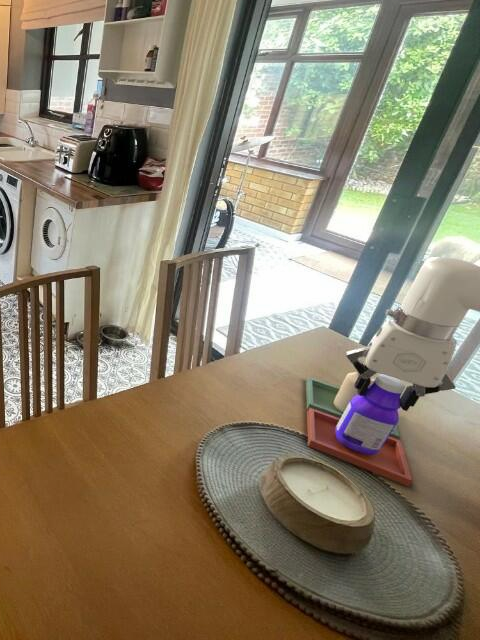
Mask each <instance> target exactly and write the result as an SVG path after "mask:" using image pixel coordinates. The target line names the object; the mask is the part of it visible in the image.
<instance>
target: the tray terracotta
mask: <svg viewBox="0 0 480 640" xmlns="http://www.w3.org/2000/svg"><path fill="white" fill-rule="evenodd" d="M339 420H340V418H337V417H334V416H331V415H329V414H326V413H323V412H320V411H318V410H315V409H312V408H309V410H308V409H307V412H306V421H307V424H306V425H307V446H308V447H310V448H312V449H315V450H317V451H320V452H322V453H324V454H326V455H327V454H328V455H330V456H332V457H335V458H337V459H339V460H342V461H345V462H347V463H349V464H352V465H354V466H357V467H358V468H361V469H364V470H367V471H369V472H371V473H374V474H377V475H378V476H381V477H384V478H387V479H389V480H391V481H394V482H396V483H398V484H402V485H403V486H406V487H409V486H410V485H411V483H412V482H413V478H412V474H411V471H410V467H409V464H408V461H407V457H406V453H405V449H404V448H403V443H402V440H400V439H398V440H397V439H394V438H392V437H388V438H387V440H386V441H385V443H384V444H383V446H382V448H381V449H380V450H379V452H377V453H376V454H373V455H369V454H364V453H361V452H358V451H355V450H352V449H350V448H348V447H346V446H344V445H342V444H341V443H340V442H339V441H338V439H337V437H336V433H335V429H336V426H337V424H338V422H339Z"/></svg>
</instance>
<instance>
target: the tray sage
mask: <svg viewBox="0 0 480 640" xmlns="http://www.w3.org/2000/svg"><path fill="white" fill-rule="evenodd" d="M340 388H341V386H340V387H339V386H336V385H334V384H330V383H328V382H325V381H321V380H319V379H316V378H312V377H310V376H309V377H307V380H305V393H306V410H307V411H308V410H309V408H312V409H315V410H318V411H320V412H323V413H326V414H329V415H331V416H334V417H337V418H340V419H341V417H342V415H343V413H342V412H340V411H339V410H338V409H337V408H336V407H335V406H334V404H333V402H334V400H335V398H336V396H337V394H338V392H339V390H340ZM389 437H392V438H394V439H397V440H399V439H400V432H399V428H398V425H397V424H396V426H395V427H394V429H393V430H392V432H391V434H390V435H389Z"/></svg>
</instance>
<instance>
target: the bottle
mask: <svg viewBox="0 0 480 640" xmlns="http://www.w3.org/2000/svg"><path fill="white" fill-rule="evenodd" d="M405 389H406V386H405V384H404V383H403V382H402V380H400V379H397V378H393V377H390V376H387V375H384V374H381V373H379V374H377V376H376V377H375V378H374V382H373V383H372V384H371V385H370V386H369V387H368V388H367V390H366V392H365V394H364V396H360V395H357V396H355V397H354V398H352V399H351V401H350V402H349V404H348V406H347V408H346V409H345V411H344V413H343V415H342V417H341V419H340V420H339V422H338V424H337V426H336V429H335V433H336V437H337V439H338V441H339V442H340V443H341V444H342V445H344V446H346V447H348V448H350V449H352V450H355V451H358V452H361V453H364V454H369V455H373V454H376V453H377V452H379V450H380V449H381V448H382V446H383V444H384V443H385V441H386V440H387V438H388V437H389V435H390V434H391V432H392V430H393V429H394V427H395V426H396V425H397V424H398V423H399V419H400V418H399V409H401V402H400V398H401V396H402V395H403V393H404V391H405Z"/></svg>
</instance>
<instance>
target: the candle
mask: <svg viewBox="0 0 480 640" xmlns="http://www.w3.org/2000/svg"><path fill="white" fill-rule="evenodd" d="M359 375H360V374H359V372H358V371H354V372H350V373H347V374H346V376H345V378H344V380H343V382H342V384H341V385H340V390H339V392H338V394H337V396H336V398H335V400H334V402H333V404H334V406H335V407H336V408H337V409H338V410H339V411H340V412H342V413H344V411H345V409H346V408H347V406H348V404H349V402H350V401H351V399H352V398H354V397H355V396H357V395H358V392H357V388H355V387H354V385H355V382H356V380H357V378H358V376H359ZM370 380H371V383H370V385H371V384H372V383H373V382H374V380H375V378H374V377H373V376H371V377H370ZM370 385H369V386H370Z"/></svg>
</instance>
